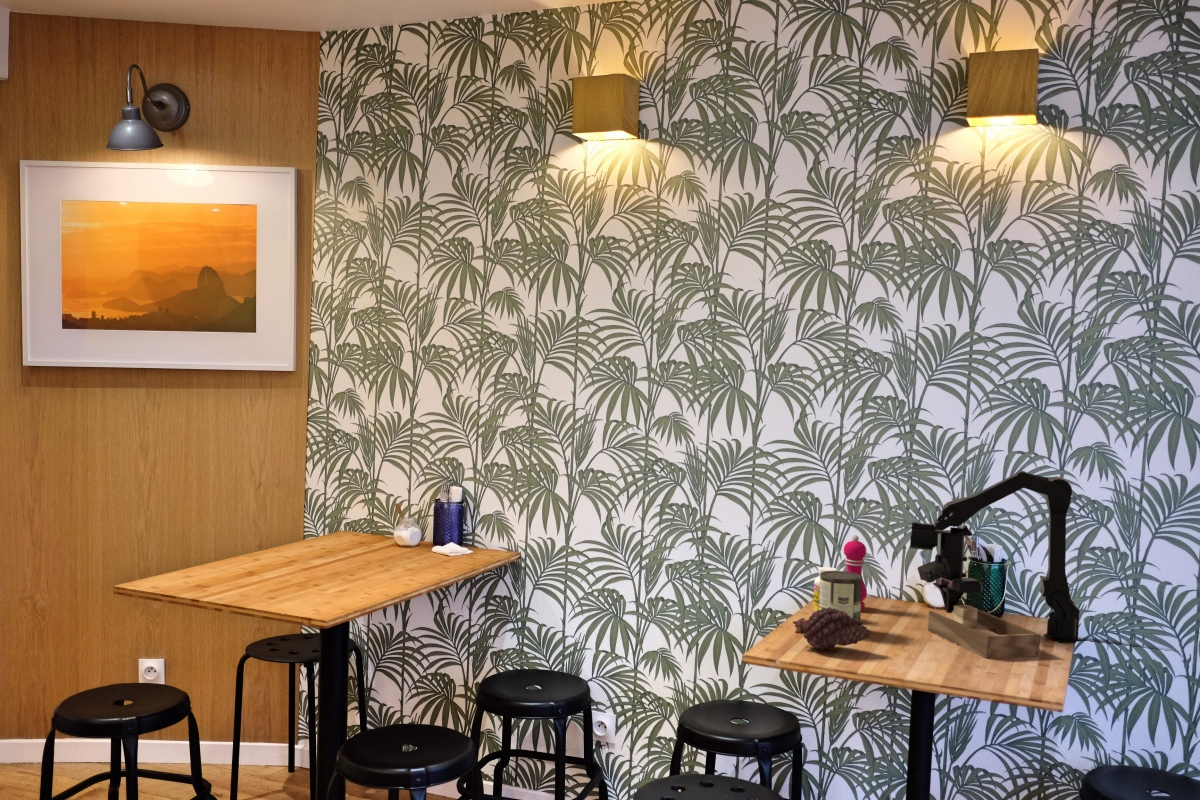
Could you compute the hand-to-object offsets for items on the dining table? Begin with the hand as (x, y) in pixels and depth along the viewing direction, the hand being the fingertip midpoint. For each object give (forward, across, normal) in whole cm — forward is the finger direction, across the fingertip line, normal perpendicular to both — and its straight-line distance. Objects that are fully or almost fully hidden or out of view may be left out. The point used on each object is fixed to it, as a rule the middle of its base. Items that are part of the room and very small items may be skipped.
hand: (949, 612), depth 267 cm
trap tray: (+4, +14, 0) cm, 15 cm away
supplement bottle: (+4, -14, -27) cm, 31 cm away
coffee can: (+4, -1, -30) cm, 30 cm away
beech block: (+1, +7, 0) cm, 7 cm away
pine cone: (+4, +14, -40) cm, 43 cm away
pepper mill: (+4, -22, -15) cm, 27 cm away
